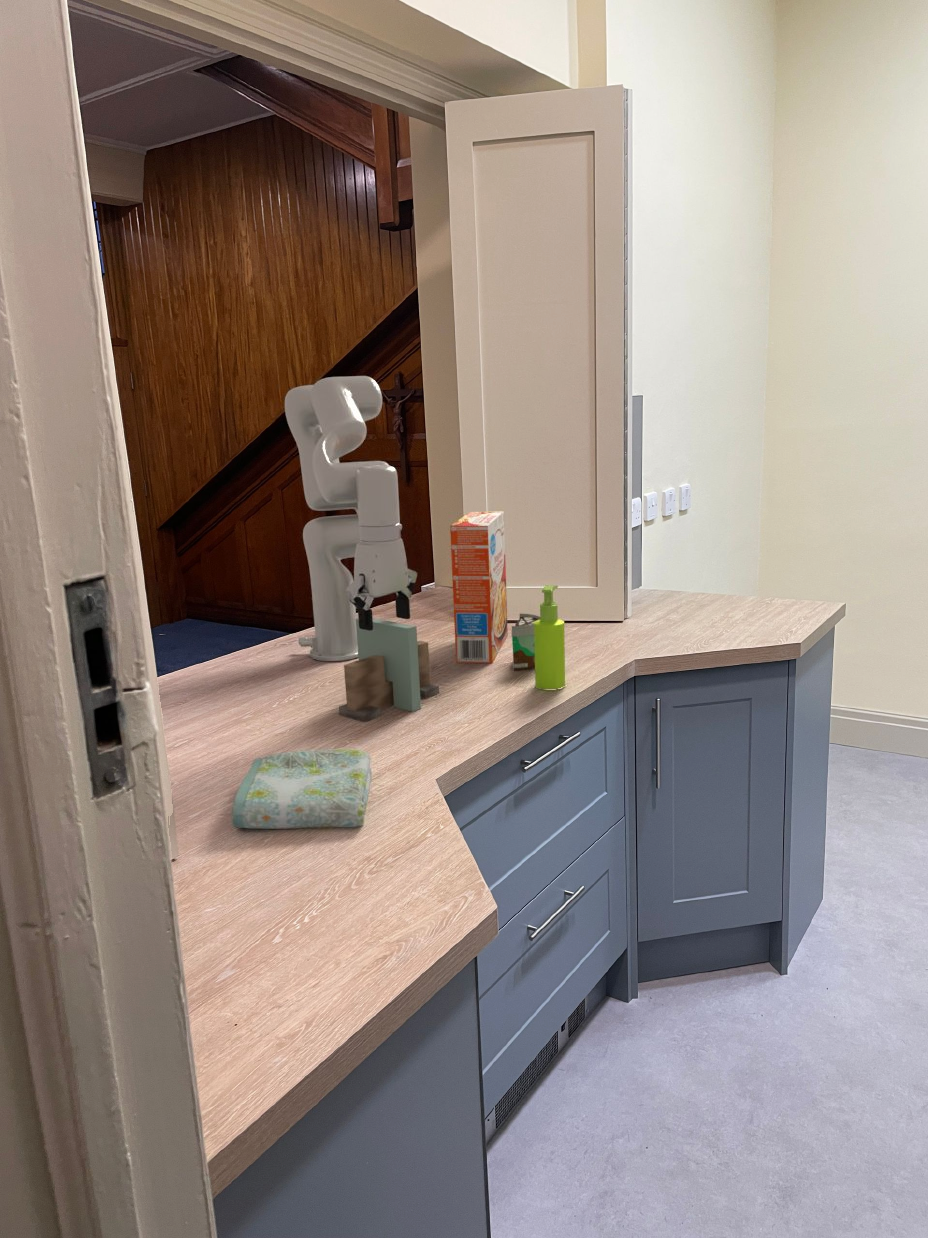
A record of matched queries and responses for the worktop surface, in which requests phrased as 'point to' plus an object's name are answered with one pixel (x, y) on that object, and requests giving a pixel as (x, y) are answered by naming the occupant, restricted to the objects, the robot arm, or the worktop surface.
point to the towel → (304, 790)
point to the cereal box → (479, 586)
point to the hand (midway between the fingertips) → (385, 623)
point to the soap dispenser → (549, 644)
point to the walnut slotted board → (378, 685)
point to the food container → (524, 642)
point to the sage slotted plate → (394, 658)
